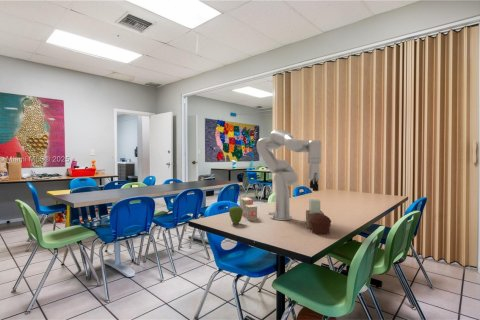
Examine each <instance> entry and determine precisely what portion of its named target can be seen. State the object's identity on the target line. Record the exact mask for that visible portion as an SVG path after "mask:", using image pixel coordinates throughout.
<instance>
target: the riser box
mask: <svg viewBox="0 0 480 320" xmlns="http://www.w3.org/2000/svg"><path fill="white" fill-rule="evenodd" d="M316 214H323V215H325V213H324V211H322V210H321V209H320V213H311V212H310V211H309V209H308V210H305V225H306V227H307V229H308V230H312V228H311V222H310V219H311V217H312V216H314V215H316Z"/></svg>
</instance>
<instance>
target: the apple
mask: <svg viewBox="0 0 480 320" xmlns="http://www.w3.org/2000/svg"><path fill="white" fill-rule="evenodd" d="M228 214H229V218H230V221H231V222H232V224H234V225H238V224H240V222H241V220H242V218H243V216H242V214H243V210H242V208H241V207H240V206H236V205H235V206H231V207H230V208H229V209H228Z"/></svg>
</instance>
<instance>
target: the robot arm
mask: <svg viewBox="0 0 480 320" xmlns="http://www.w3.org/2000/svg"><path fill="white" fill-rule="evenodd" d="M269 134H270V135H269V137H262V138H260V139H258V140H257V142H256V151H257V153H258V155H259V156H260V157H261V159H262V160H263V161H264V163H265V165H266V166H267V168H268V170H269V172H270V173H271V174H274V176H273V182H274V192H275V193H274V194H275V196H274V198H275V199H274V203H275V206H274V207H275V209H274V211H270V212H269V211H268V215H269V216H273V217H272V219H274V220H276V221H290V220H292V219H293V216H292V215H290V214H291V213H290V211H291V210H290V189H289V188H288V186H293V185H296V184H297V182H298V175H297V172H296V171H295V170H294V168H293V166H292V165H291V164H290V162H288V161H287V160H286V159H278V158H277V157H276V156H275V154H274V153H273V152H272V151H271V150H274V151H275V150H278V149H279V148H281V147H283V146H284V147H285V148H286V149H287V150H289V151H292V152H295V153H307V164H309V165H308V180H309V189H312V192H313V191H314V192H319V179H320V164H322V141H321V140H317V139H316V140H314V139H312V140H309V139H297V138H294V136H293V135H292V134H291V133H290V132H289V131H288V130H283V129H274V130H273V131H271V132H270V133H269Z"/></svg>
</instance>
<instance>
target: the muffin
mask: <svg viewBox="0 0 480 320" xmlns="http://www.w3.org/2000/svg"><path fill="white" fill-rule="evenodd" d="M310 222H311V228H312V229H311V232H312V234H314V235H318V236H319V235H320V236H325V235H326V236H327V235H329V234H330V228H331V223H332V222H333V221H332V219H331V218H330V217H329V216H327V215H325V214H324V215H323V214H316V215H314V216H312V217H311V219H310Z"/></svg>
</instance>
